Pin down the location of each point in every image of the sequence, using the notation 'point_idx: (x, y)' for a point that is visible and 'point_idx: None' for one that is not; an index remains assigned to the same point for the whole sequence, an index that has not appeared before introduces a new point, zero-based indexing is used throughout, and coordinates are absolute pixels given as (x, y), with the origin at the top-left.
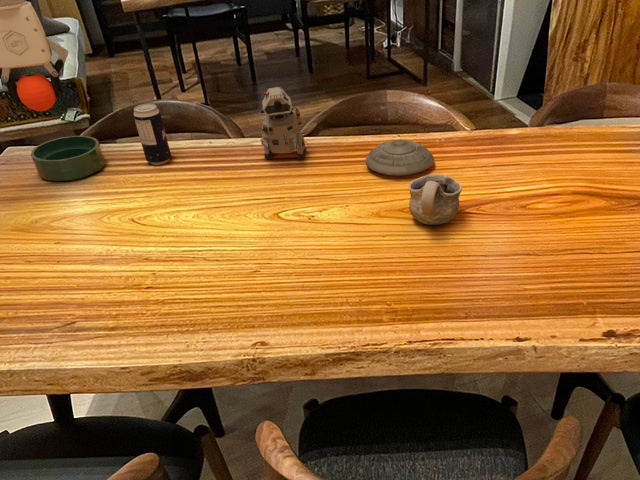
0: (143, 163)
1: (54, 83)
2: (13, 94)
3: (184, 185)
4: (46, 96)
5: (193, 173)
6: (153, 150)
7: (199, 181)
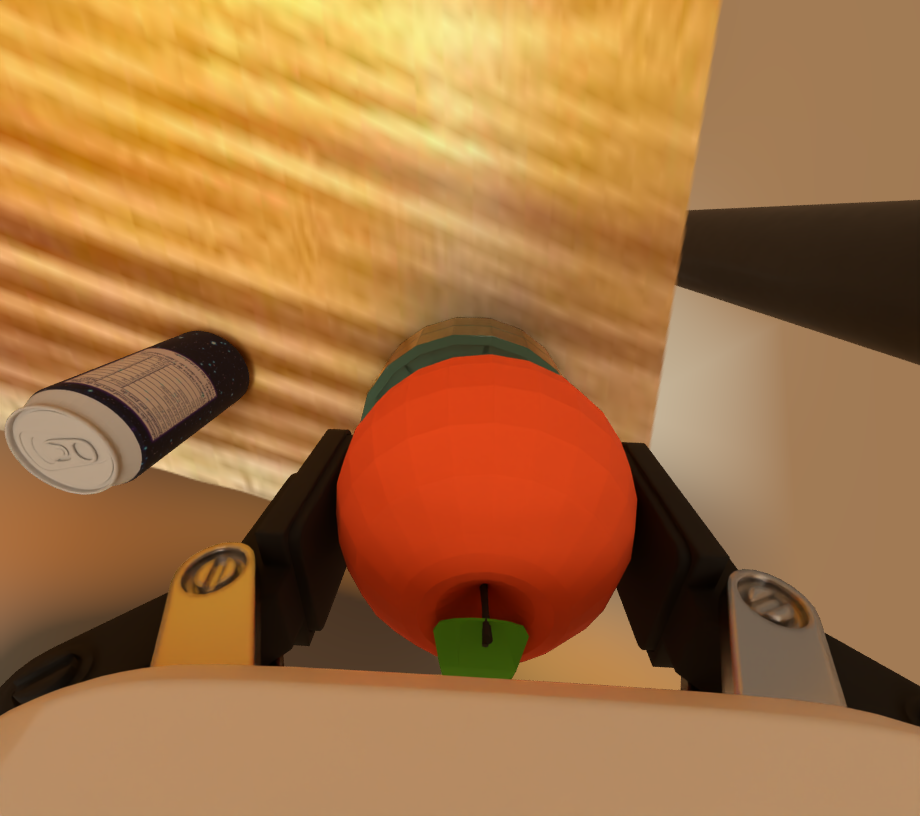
0: (266, 369)
1: (291, 492)
2: (665, 478)
3: (75, 111)
4: (400, 385)
5: (74, 217)
6: (180, 343)
7: (26, 127)
